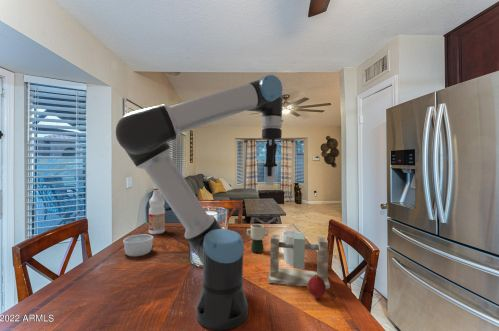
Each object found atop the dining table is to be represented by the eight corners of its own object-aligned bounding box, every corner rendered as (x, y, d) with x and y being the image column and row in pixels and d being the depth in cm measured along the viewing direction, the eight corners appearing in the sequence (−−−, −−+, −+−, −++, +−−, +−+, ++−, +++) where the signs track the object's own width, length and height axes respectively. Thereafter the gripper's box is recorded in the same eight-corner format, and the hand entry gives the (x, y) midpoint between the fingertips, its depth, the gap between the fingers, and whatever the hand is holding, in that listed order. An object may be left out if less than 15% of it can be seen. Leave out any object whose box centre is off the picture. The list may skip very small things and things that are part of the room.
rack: (268, 283, 89) (269, 240, 88) (270, 271, 98) (270, 232, 98) (329, 289, 85) (330, 244, 85) (325, 276, 95) (326, 236, 95)
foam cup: (278, 263, 106) (278, 234, 106) (285, 256, 114) (285, 229, 114) (299, 268, 102) (299, 238, 101) (304, 260, 110) (305, 232, 110)
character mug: (268, 249, 124) (268, 224, 123) (268, 254, 116) (268, 228, 116) (247, 248, 124) (247, 223, 124) (245, 253, 117) (246, 227, 117)
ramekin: (131, 260, 107) (131, 244, 107) (117, 253, 115) (118, 238, 115) (158, 251, 118) (158, 237, 118) (144, 245, 126) (144, 232, 126)
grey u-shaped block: (293, 268, 88) (293, 238, 88) (292, 259, 96) (293, 232, 96) (304, 269, 87) (304, 239, 87) (302, 260, 95) (303, 232, 95)
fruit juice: (160, 234, 144) (160, 188, 144) (145, 234, 145) (146, 188, 145) (167, 230, 154) (167, 187, 153) (153, 229, 155) (153, 186, 154)
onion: (312, 291, 84) (312, 268, 84) (328, 297, 80) (328, 273, 80) (304, 298, 79) (305, 274, 79) (321, 305, 75) (321, 280, 75)
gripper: (280, 123, 79) (279, 187, 79) (282, 132, 103) (281, 181, 104) (258, 123, 80) (257, 186, 80) (265, 132, 105) (264, 181, 105)
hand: (270, 183), depth 92 cm, fingers open, 13 cm apart
